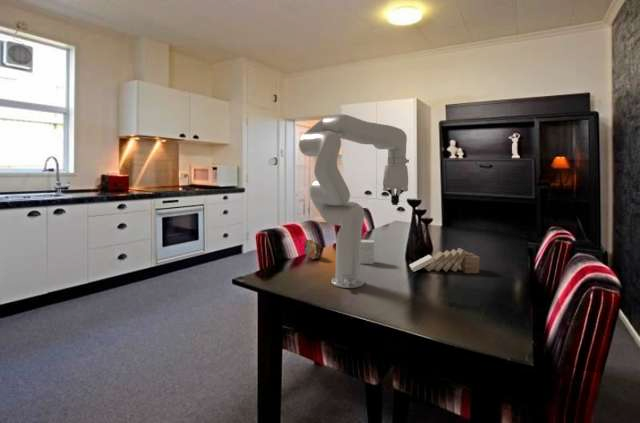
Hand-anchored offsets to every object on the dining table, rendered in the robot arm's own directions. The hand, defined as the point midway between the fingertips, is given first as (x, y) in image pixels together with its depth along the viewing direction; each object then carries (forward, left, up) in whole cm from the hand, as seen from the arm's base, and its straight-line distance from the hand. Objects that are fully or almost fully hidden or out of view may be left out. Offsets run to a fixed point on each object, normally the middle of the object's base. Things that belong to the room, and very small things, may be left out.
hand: (394, 204), depth 157 cm
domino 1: (0, -9, -28) cm, 30 cm away
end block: (0, -34, -29) cm, 45 cm away
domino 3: (0, -19, -28) cm, 34 cm away
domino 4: (0, -23, -28) cm, 36 cm away
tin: (+23, +35, -29) cm, 51 cm away
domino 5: (0, -27, -28) cm, 39 cm away
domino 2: (0, -15, -28) cm, 32 cm away
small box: (+13, +10, -29) cm, 34 cm away
